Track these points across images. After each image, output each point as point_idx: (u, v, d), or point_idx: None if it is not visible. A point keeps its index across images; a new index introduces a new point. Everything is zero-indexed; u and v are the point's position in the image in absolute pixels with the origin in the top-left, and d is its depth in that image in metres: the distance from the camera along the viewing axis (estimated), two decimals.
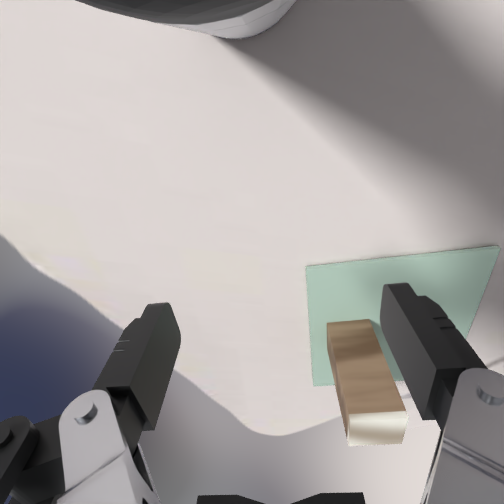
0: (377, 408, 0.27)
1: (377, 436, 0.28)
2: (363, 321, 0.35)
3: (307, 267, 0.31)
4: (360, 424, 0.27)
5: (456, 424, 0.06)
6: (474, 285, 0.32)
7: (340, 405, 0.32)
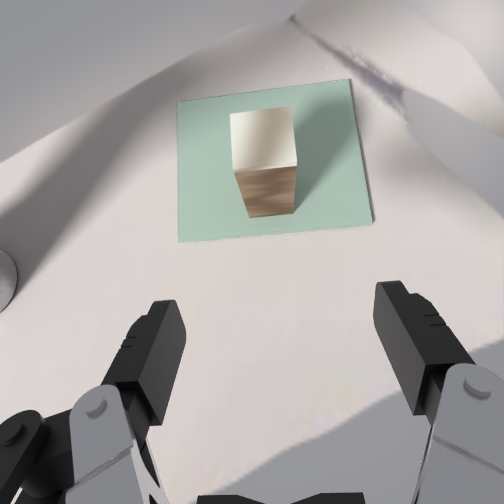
0: None
1: (270, 135, 0.23)
2: None
3: None
4: (241, 157, 0.23)
5: (445, 420, 0.06)
6: (212, 105, 0.38)
7: (286, 184, 0.26)
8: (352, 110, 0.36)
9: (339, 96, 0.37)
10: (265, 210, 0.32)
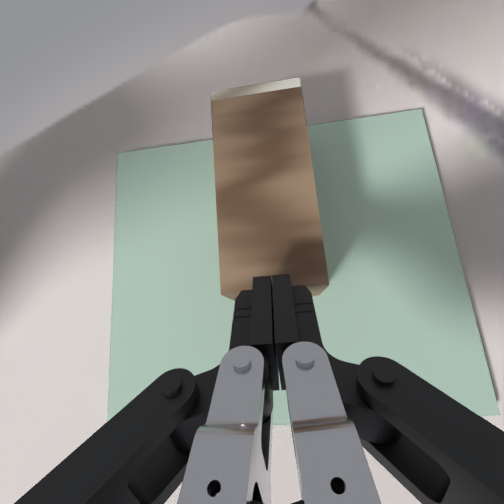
0: None
1: None
2: None
3: None
4: None
5: (295, 403, 0.07)
6: (178, 159, 0.22)
7: (293, 136, 0.15)
8: (434, 169, 0.19)
9: (407, 142, 0.20)
10: (259, 251, 0.14)
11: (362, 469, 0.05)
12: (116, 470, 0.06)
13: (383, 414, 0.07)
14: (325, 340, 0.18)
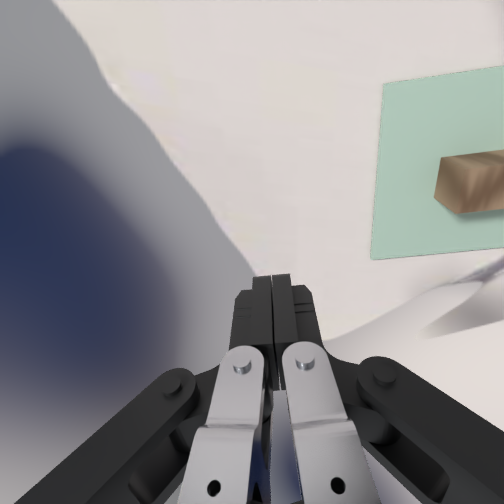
0: None
1: None
2: (447, 158, 0.34)
3: None
4: None
5: (295, 403, 0.07)
6: None
7: None
8: (479, 248, 0.41)
9: (499, 239, 0.40)
10: (480, 185, 0.31)
11: (362, 469, 0.05)
12: (116, 470, 0.06)
13: (383, 414, 0.07)
14: (411, 200, 0.38)
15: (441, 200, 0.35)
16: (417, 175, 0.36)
